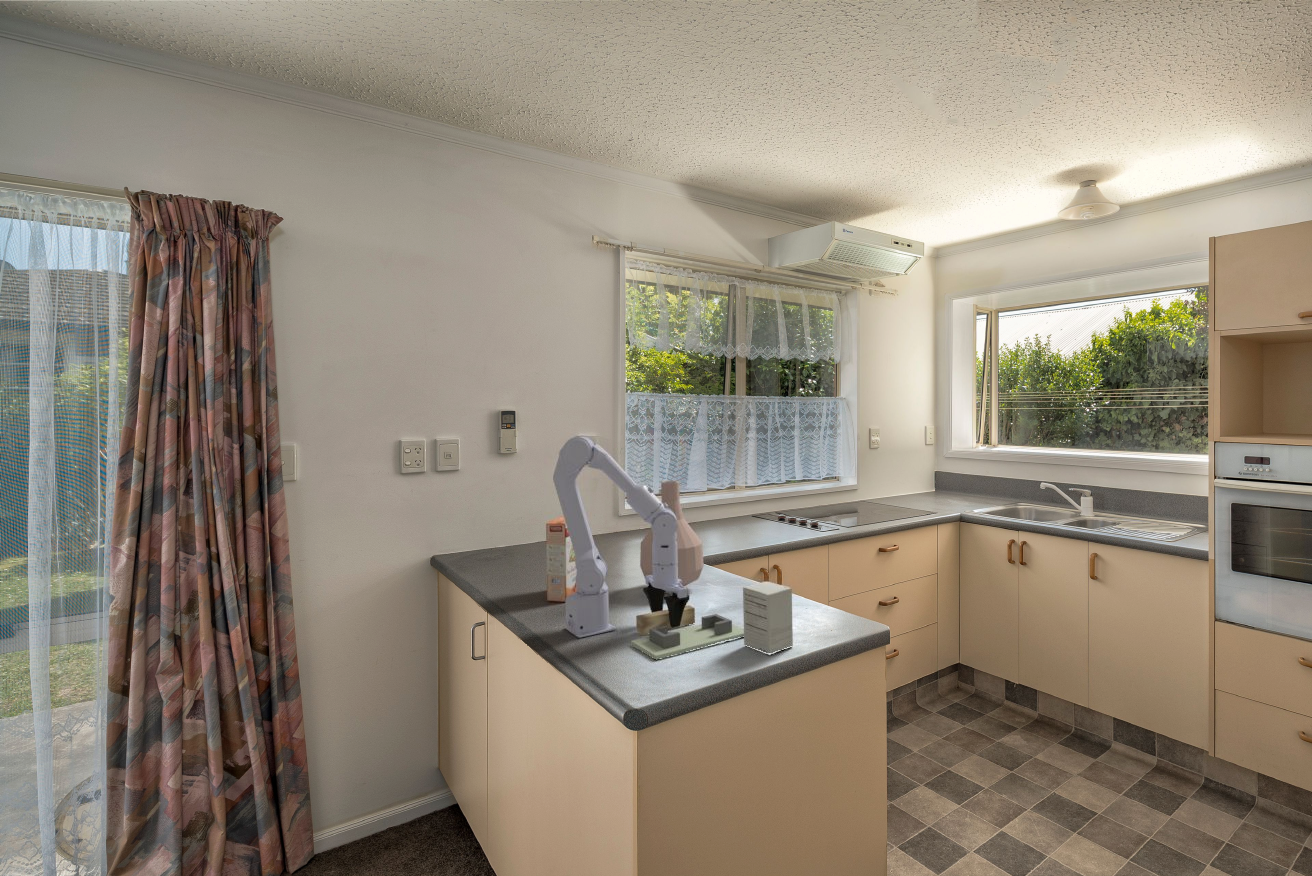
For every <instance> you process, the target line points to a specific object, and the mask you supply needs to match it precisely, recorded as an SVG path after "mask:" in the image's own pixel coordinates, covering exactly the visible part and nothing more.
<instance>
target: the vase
mask: <svg viewBox="0 0 1312 876" xmlns="http://www.w3.org/2000/svg"><path fill="white" fill-rule="evenodd" d="M660 487H661V491H660V492H661V495H660V496H661V500H660V501H661V502H662V503H663V504H664V503H666V504H667V505H668V507H667V508H669V509H671V510H672V511H673V513H674V514H675V516H676V518H677V525H678V528H677V531H676V534H677V539H676V542H677V554H678V579H681V580H682V583H681V584H682V585H683V586H684V587H687V586H688V585H690V584H691V583H694V582H696V581H698V580H699V579H700V576H701V573H702V571H703V568H704V566H705V565H704V549H703V548H704V547H703V542H702V540H701V539H700V538H699V536H698V535H697V534H696V532H695V531H694V530H693V528H692V527H691V526H690V525H689V523H688V522H687V520H686V519H685V517H684V513H683V509H682V505H681V500H680V499H681V498H680V481H677V480H675V481H674V480H669V481H667V480H665V481H661V483H660ZM652 543H653V532H652V529H651V528H650V529H649V531H648V532H647V534H646V535H645V536H644V537H643V538H642V540H641V541H640V556H639V557H640V558H639V559H640V561H639V562H640V565H639V567H640V569H641V572H642V574H643V577H644V580H646V578H645V576H648V575H653V560H652ZM665 594H671V593H670V592H667V591H666V592H665Z"/></svg>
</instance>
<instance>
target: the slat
mask: <svg viewBox="0 0 1312 876" xmlns="http://www.w3.org/2000/svg"><path fill="white" fill-rule="evenodd" d="M695 611H696V610H695V607H693V606H691V605H686V606H685V608H684V611H683V615H682V619H681V623H680V626H678V627H679V628H682V627H681V626H684V627H686V626H685V625H688V626H690V625H689V624H693V623H695V624H696V620H695V618H696V615H695V614H696V612H695ZM635 618H636V622H635V624H636V633H637V632H638V633H639V635H640V634H641V635H640V636H642V635H643V636H646V635H645V634H647V635H649V634H648V633H649V629H652V628H656V627H660V626H667V627H668V629H670V628H672V627H671V626H670V620H669V612H668V609H663V611H658V612H653V613H651V612H649V613H643V614H639V615H636V616H635ZM693 625H694V624H693ZM674 628H675V629H677V628H676V627H674ZM670 630H671V629H670ZM638 633H637V634H638Z"/></svg>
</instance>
